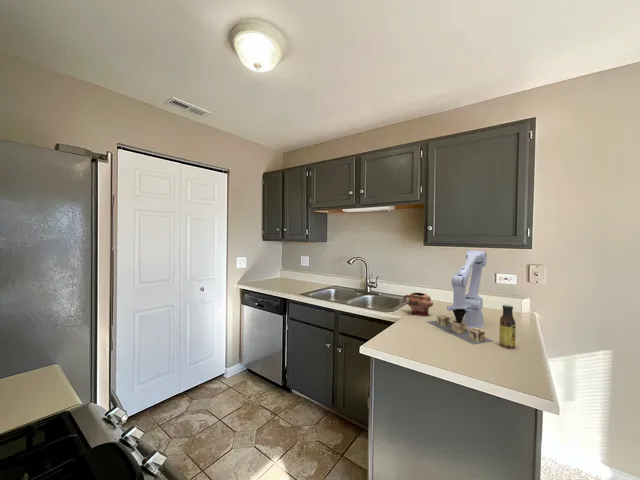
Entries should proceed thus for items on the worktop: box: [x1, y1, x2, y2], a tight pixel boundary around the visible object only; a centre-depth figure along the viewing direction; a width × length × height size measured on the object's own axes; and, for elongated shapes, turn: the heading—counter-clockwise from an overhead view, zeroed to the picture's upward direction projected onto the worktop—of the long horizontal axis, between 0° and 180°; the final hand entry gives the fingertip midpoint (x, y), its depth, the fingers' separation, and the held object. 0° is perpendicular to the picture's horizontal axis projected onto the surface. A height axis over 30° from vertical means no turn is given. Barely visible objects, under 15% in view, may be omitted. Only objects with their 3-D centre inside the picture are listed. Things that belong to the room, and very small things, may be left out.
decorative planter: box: [403, 292, 434, 317], centre depth 178 cm, size 20×12×14 cm, turn 51°
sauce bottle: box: [498, 304, 517, 350], centre depth 127 cm, size 6×6×20 cm
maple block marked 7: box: [468, 327, 486, 342], centre depth 134 cm, size 5×5×5 cm
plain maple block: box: [451, 320, 467, 334], centre depth 145 cm, size 5×5×5 cm
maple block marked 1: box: [436, 313, 451, 326], centre depth 156 cm, size 5×5×5 cm
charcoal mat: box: [426, 320, 494, 345], centre depth 147 cm, size 13×34×1 cm, turn 17°
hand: (458, 322), depth 145 cm, fingers closed, pressing on plain maple block
